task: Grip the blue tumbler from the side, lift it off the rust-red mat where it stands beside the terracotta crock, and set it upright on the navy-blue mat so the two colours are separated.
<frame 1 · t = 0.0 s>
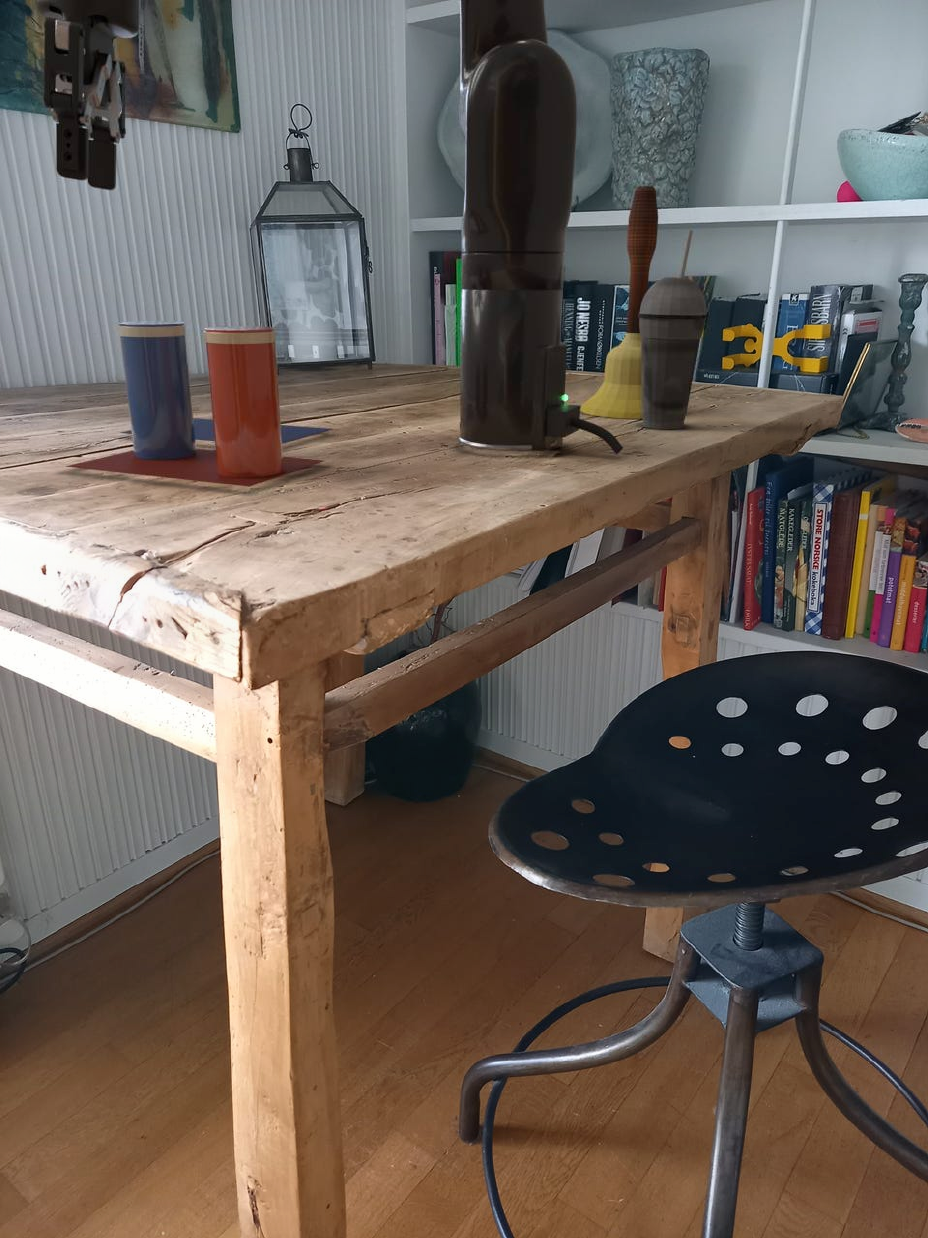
hand: (87, 183, 75), 22 cm above the table, tool pointing down, fingers open, 8 cm apart
red mat: (198, 470, 76), on the table
blue mat: (228, 436, 92), on the table
blue tumbler: (166, 454, 79), point 1 cm above the table, touching red mat
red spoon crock: (250, 471, 72), point 1 cm above the table, touching red mat
beverage cup: (662, 427, 100), on the table
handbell: (629, 412, 111), on the table
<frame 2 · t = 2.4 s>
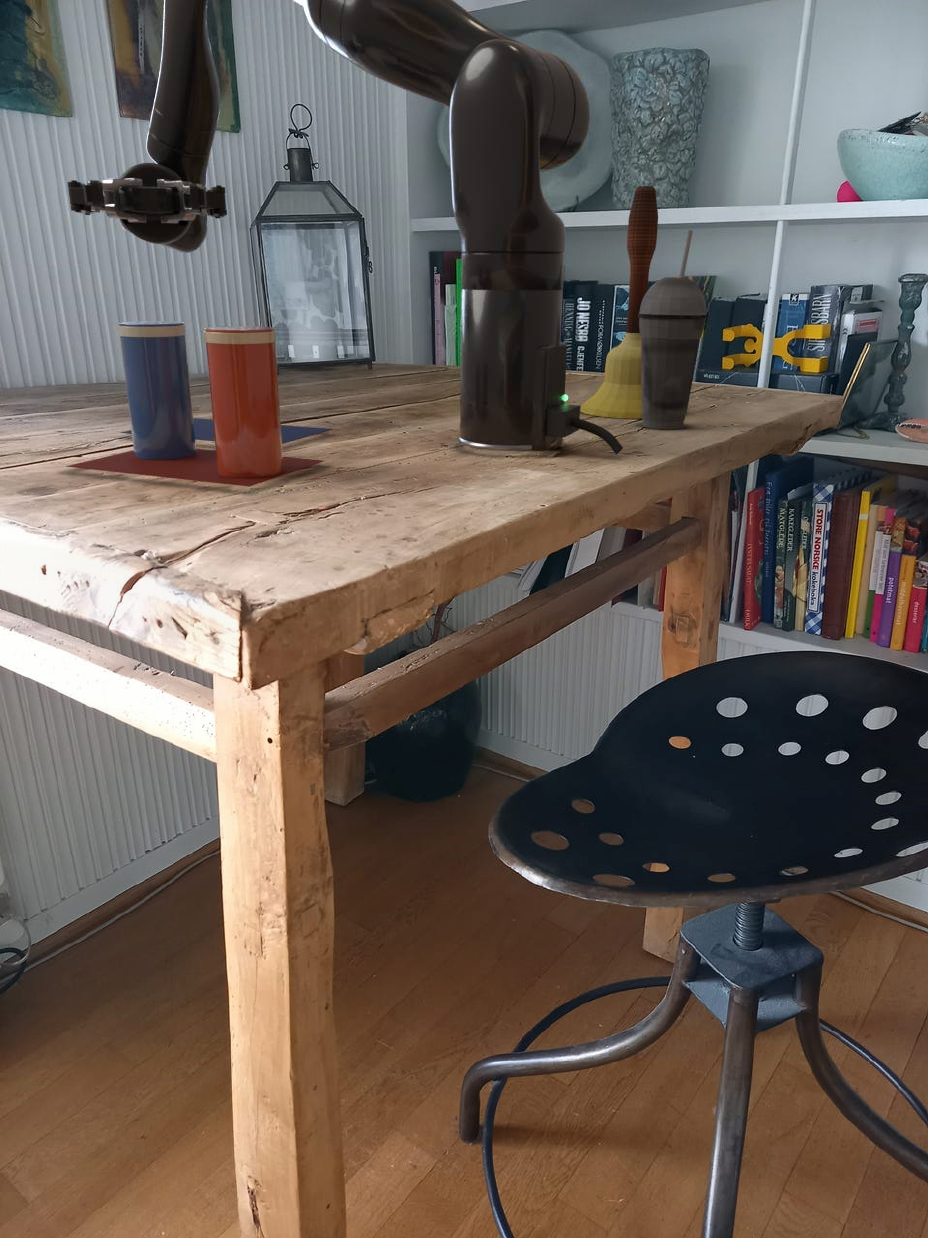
hand: (145, 194, 81), 22 cm above the table, tool horizontal, fingers open, 8 cm apart
nothing on the table moved.
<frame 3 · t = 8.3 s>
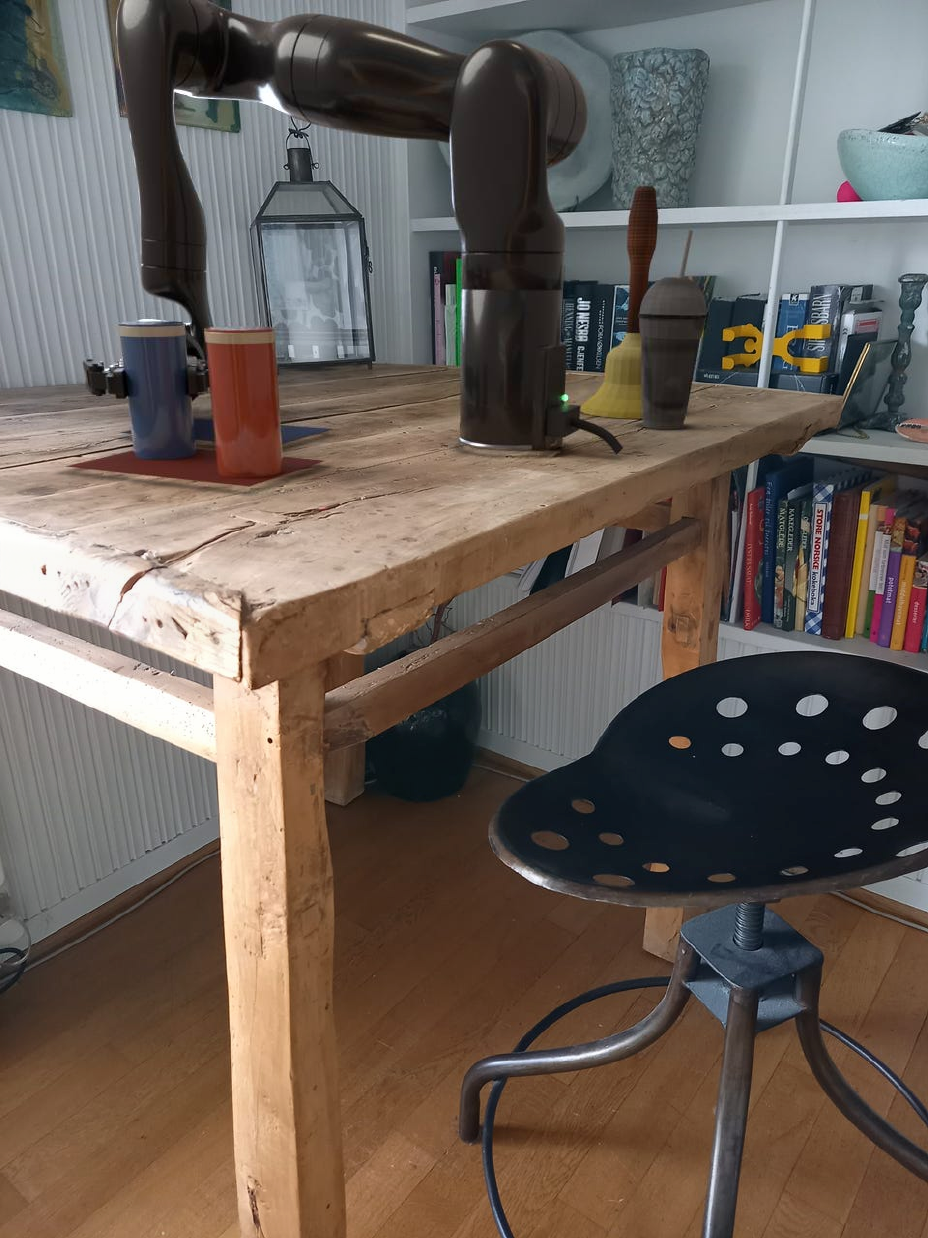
hand: (156, 384, 74), 7 cm above the table, tool horizontal, fingers closed on blue tumbler, 5 cm apart
blue tumbler: (166, 454, 79), point 1 cm above the table, touching gripper, red mat
everything else where it was.
when the fingers open (7 cm above the table, at t = 15.9 s): blue tumbler stays where it is, resting on blue mat.
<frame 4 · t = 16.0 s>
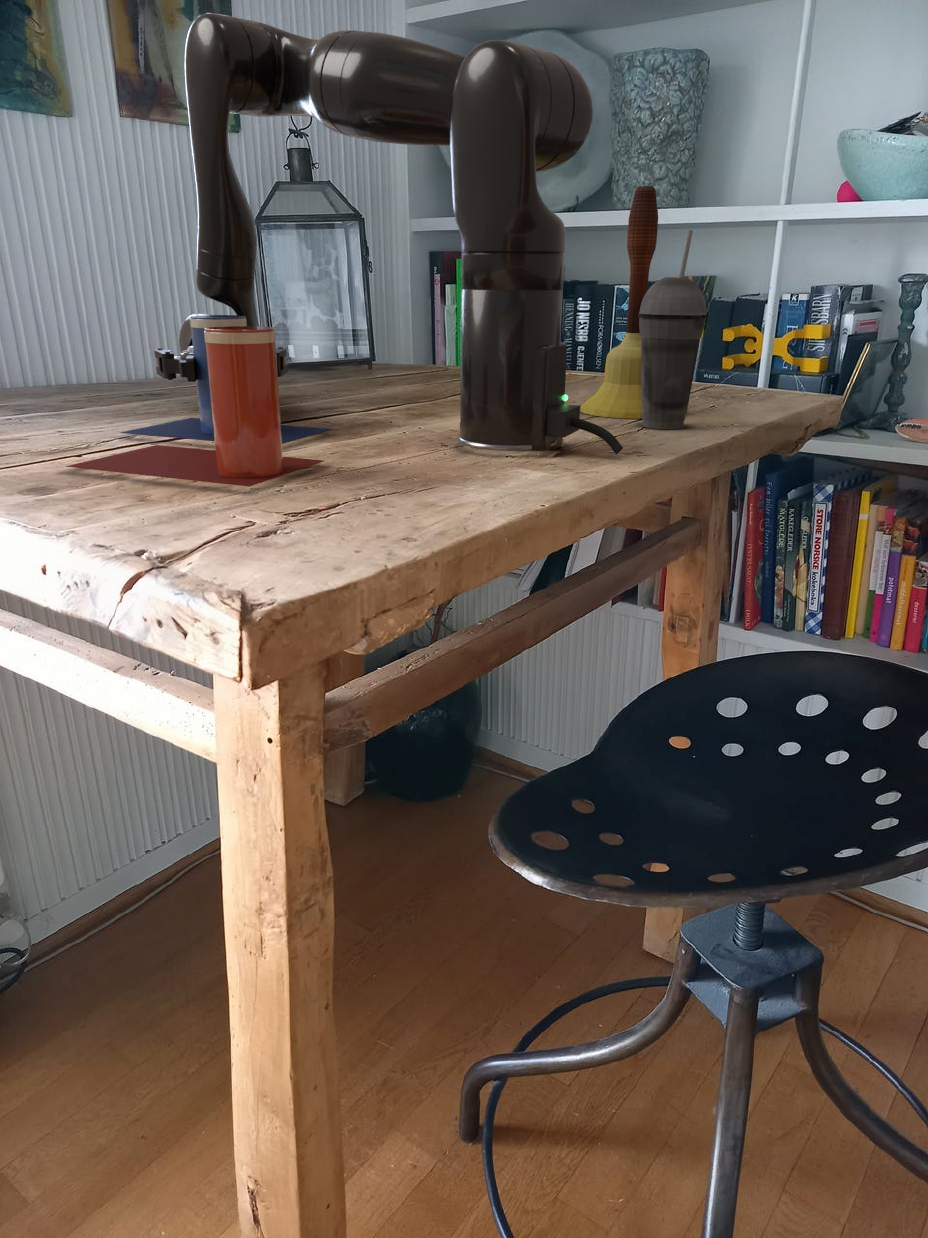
hand: (222, 369, 87), 7 cm above the table, tool horizontal, fingers open, 5 cm apart
blue tumbler: (227, 430, 91), point 1 cm above the table, touching blue mat
everything else where it was.
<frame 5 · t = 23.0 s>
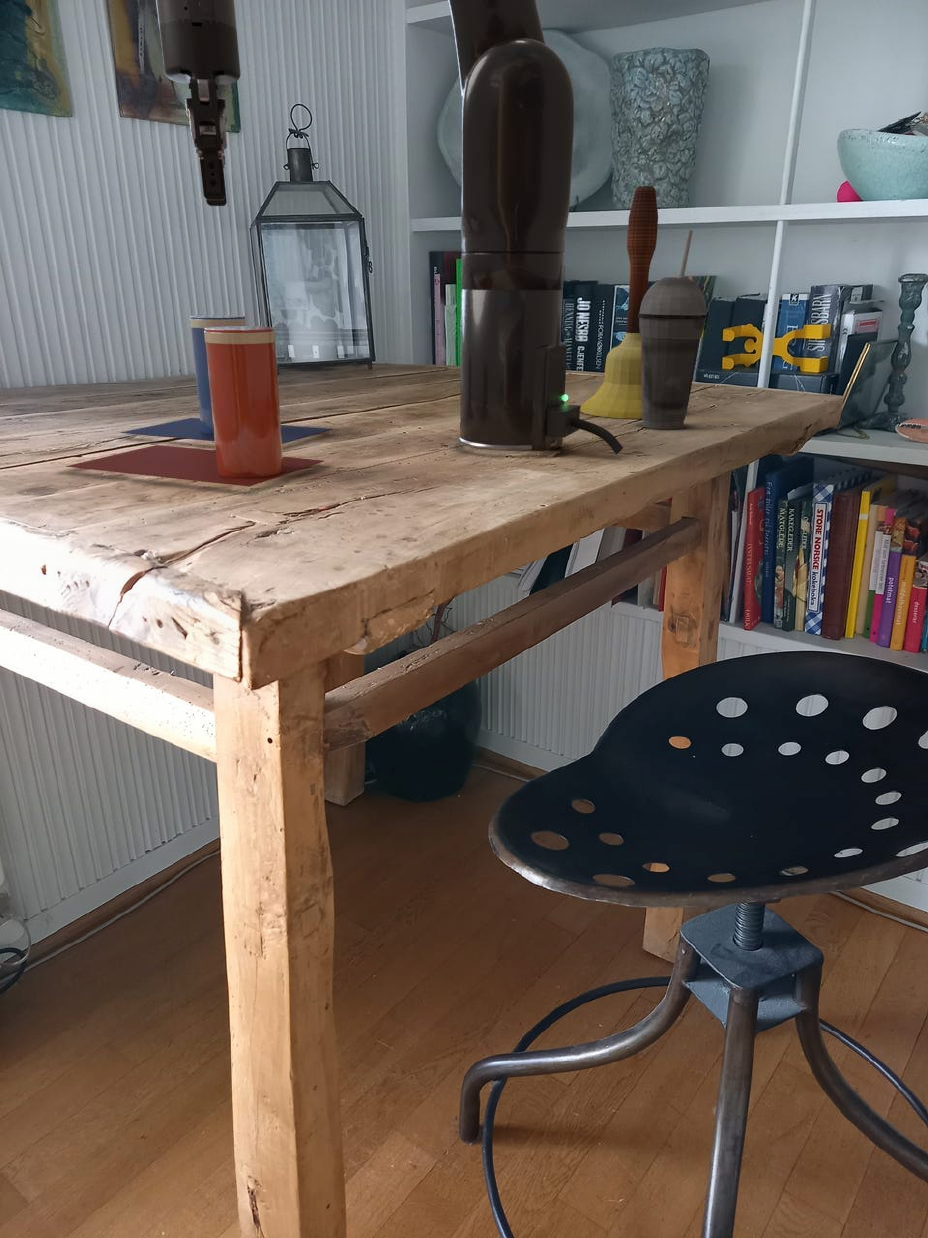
hand: (216, 202, 96), 22 cm above the table, tool pointing down, fingers open, 8 cm apart
nothing on the table moved.
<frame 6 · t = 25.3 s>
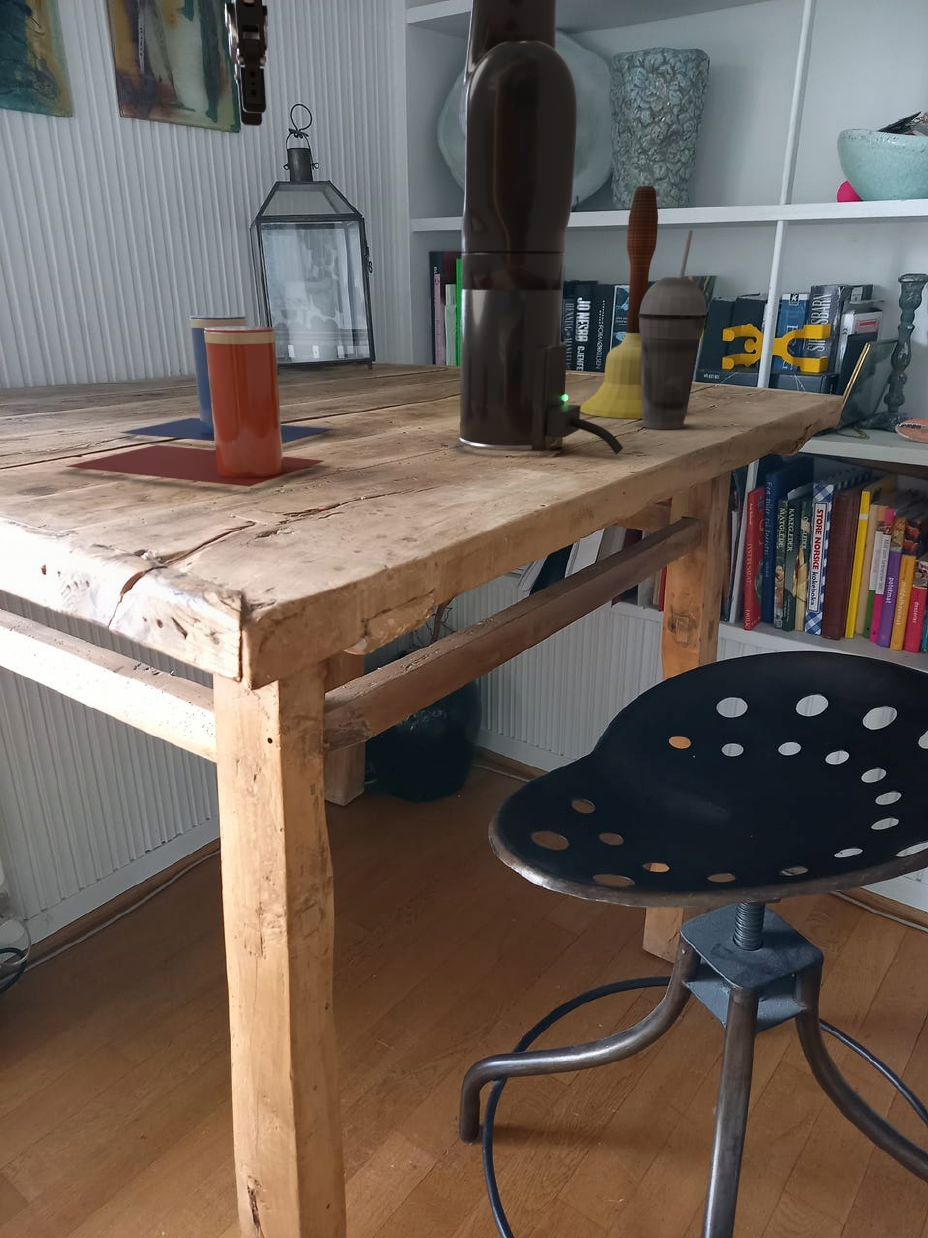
hand: (253, 118, 91), 30 cm above the table, tool pointing down, fingers open, 8 cm apart
nothing on the table moved.
at the end: blue tumbler inside the target area (0.1 cm from its centre), point 0.6 cm above the table; blue tumbler tilted 0°; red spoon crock inside the target area (6.1 cm from its centre), point 0.6 cm above the table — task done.
